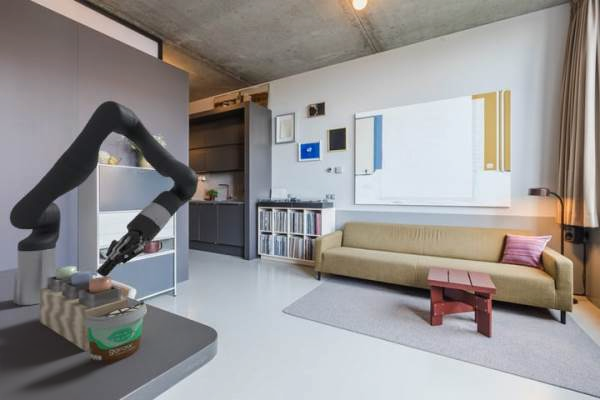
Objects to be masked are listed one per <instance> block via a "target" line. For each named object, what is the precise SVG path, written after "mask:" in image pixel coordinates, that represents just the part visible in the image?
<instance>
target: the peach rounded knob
mask: <svg viewBox="0 0 600 400" xmlns="http://www.w3.org/2000/svg"><path fill="white" fill-rule="evenodd" d="M111 285H112V277H111V276H105V277H104V276H100V277H95V278H94V277H93V279H91V280H90V281H89V293H91V294H97V293H101V292H105V291H109V290H111Z"/></svg>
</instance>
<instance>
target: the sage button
mask: <svg viewBox="0 0 600 400" xmlns="http://www.w3.org/2000/svg"><path fill="white" fill-rule="evenodd" d="M77 270H78V269H77V266H76V265H69V266H62V267H58V268H57V267H56V273H55V276H56V280H58V281H59V280H64V279H69V278H72V274H73V273H77Z"/></svg>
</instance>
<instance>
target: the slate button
mask: <svg viewBox="0 0 600 400" xmlns="http://www.w3.org/2000/svg"><path fill="white" fill-rule="evenodd" d="M91 279H94V273H93V271H92V270H91V271H90V270H87V271H86V270H84V271H83V270H82V271H78V272H77V271H76V273H73V274H72V283H71V286H73V287H77V286H82V285H86V284H89V281H90V280H91Z"/></svg>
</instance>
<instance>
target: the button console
mask: <svg viewBox="0 0 600 400" xmlns="http://www.w3.org/2000/svg"><path fill="white" fill-rule="evenodd" d="M71 283H72V278H69V279H64V280H59V281H58V280H56V275H55V276H54V277H48V278H47V288H43V289H40V303H39V323H41V324H42V325H44V326H45V327H48V328H49V329H51V330H52V331H53V332H55V333H57V334H58V335H60V336H61V337H63V338H64V339H66V340H68V341H69V342H70V343H72V344H74V345H75V346H76V347H78V348H80V349H81V350H83V351H85V352H86V351H90V345H89V336H88V328H87V327H84V322H85V319H86V318H87V316H90V317H98V316H101V315H104V314H107V313H109V312H111V311H113V310H116V309H120V308H126V307H129V299H128V298H126V297H123V296H122V288H121V287H118V286H116V285H113V284H111V290H109V291H105V292H101V293H97V294H91V293H89V284H86V285H82V286H77V287H73V286H71Z"/></svg>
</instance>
